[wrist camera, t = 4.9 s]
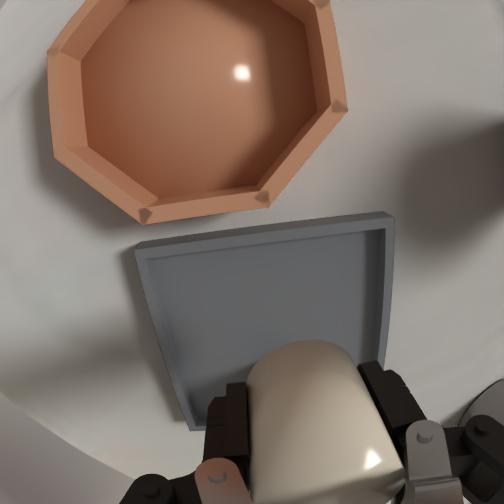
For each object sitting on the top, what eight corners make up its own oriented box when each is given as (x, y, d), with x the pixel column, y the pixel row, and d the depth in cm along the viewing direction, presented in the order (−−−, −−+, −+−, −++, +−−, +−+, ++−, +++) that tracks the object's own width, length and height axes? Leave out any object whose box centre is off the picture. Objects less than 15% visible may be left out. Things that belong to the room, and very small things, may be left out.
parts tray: (383, 211, 19) (394, 217, 17) (371, 390, 24) (377, 403, 22) (141, 241, 19) (133, 250, 17) (191, 417, 23) (190, 431, 22)
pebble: (358, 330, 11) (422, 441, 6) (352, 411, 12) (390, 511, 7) (238, 348, 11) (239, 478, 6) (253, 427, 12) (259, 536, 7)
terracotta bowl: (302, -31, 14) (315, -59, 10) (335, 189, 18) (356, 199, 15) (74, 9, 13) (50, -10, 10) (94, 222, 18) (69, 238, 15)
